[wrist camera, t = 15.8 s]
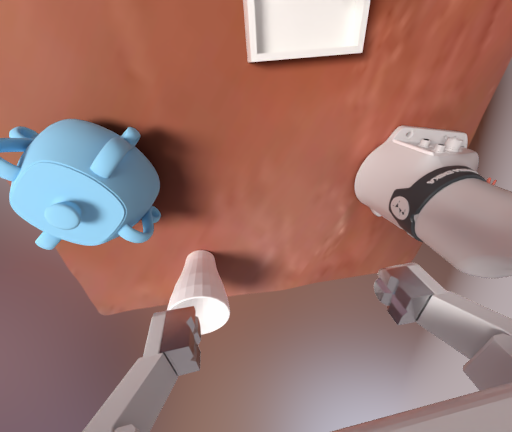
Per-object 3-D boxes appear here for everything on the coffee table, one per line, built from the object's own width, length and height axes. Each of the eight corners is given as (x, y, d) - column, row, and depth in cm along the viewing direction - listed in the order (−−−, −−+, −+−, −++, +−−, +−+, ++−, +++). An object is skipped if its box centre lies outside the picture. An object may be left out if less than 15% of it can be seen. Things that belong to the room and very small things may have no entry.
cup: (214, 234, 46) (216, 288, 35) (231, 268, 52) (238, 323, 41) (165, 251, 46) (152, 310, 35) (188, 282, 52) (183, 341, 41)
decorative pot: (62, 212, 38) (1, 274, 27) (24, 108, 29) (-88, 134, 18) (165, 215, 42) (150, 270, 30) (158, 123, 33) (133, 152, 22)
